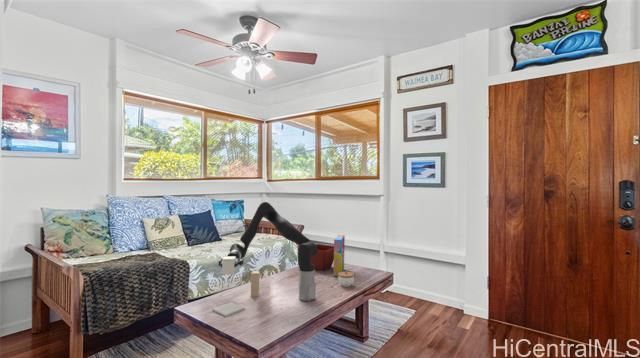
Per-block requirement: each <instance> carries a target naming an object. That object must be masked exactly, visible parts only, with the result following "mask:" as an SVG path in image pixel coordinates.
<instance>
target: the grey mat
mask: <svg viewBox="0 0 640 358" xmlns="http://www.w3.org/2000/svg"><path fill="white" fill-rule="evenodd" d="M244 310H245V307H244V306H242V305H239V304H237V303H235V302H233V301H230V302H228V303H224V304H221V305H219V306H215V307H214V308H212V309H211V311H212V312H215V313H217V314H218V315H221V316H223V317H225V318H226V317H227V318H228V317H229V316H232V315H234V314H236V313H239V312H242V311H244Z"/></svg>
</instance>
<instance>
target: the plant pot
mask: <svg viewBox="0 0 640 358" xmlns="http://www.w3.org/2000/svg"><path fill="white" fill-rule="evenodd" d="M315 245H316V246H317V248H318V253H317V255H316V256H314V257H311V258H310V263H312V264H314V266H315V270H316V269H317V271H322V272H324V271H327V270H329V269H331V268H332V266H333V265H334V245H326V244H322V243H321V244H319V243H317V244H316V243H315Z"/></svg>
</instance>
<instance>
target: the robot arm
mask: <svg viewBox="0 0 640 358" xmlns="http://www.w3.org/2000/svg"><path fill="white" fill-rule="evenodd" d="M262 219H265V220H267V221H269V223H271V224H272V225H273V226H274V228H275V229H276V231H277V232H278V233H279V234H280V235H281V236H282V237H283V238H284V239H286V240H288V241H289V242H293V243H295V244H297V245H298V249H297V265H298V267H299V269H298V272H299V275H298V300H300V301H303V302H311V301H313V300H315V299H316V297H317V296H316V293H317V292H316V290H317V289H316V286H317V284H316V282H315V274H316V273H315V271H316V269H315V266H314V264H312V263H310V258H311V257H314V256H316V255H317V253H318V248H317V246H316V243H315V242H313V241H312V240H311V239H309V238H308V237H306V236H305V235H304V234H303V233H302V232H301V231H300V230H299V229H297V227H296V226H294V225H293V224H292V223H291V222H290V221H289V220H287V219H286V218H285V217H282V216H281V215H280V214H279V212H278V211H277V210H276V209H275V208H274V206H272V205H271V203H269V202H268V201H263V202H261V203H260V204H259V206H258V207H257V209H256V211H255V213H254V215H253V217H252V219H251V221H250V224H249V225H248V227H247V228H246V229H245V231H244V232H243V234H242V235H241V237H240V241H241V242H242V244H243V245H244V246H242V245H240V244H238V243H237V242H236V243H233V244H231V246H230V248H229V253H228V254H227V256H236V262H235V264H234V267H236V268H237V267H238V266H243V264H245V257H246V255H247V253H248V252H247V251H248V250H249V246H250V245H251V243H252V241H253V240H254V239H255V237H256V234H257V233H258V229H259V226H260V223H261V221H262ZM222 259H223V258H218V266H219V267H221V269H222Z"/></svg>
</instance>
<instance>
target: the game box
mask: <svg viewBox="0 0 640 358" xmlns="http://www.w3.org/2000/svg"><path fill="white" fill-rule="evenodd" d="M345 239H346V235H344V234H343V235H341V234H338V235H337V236H336V237H335V238H334V240H333V246H334V261H333V275H332V276H333V277H338V273H340V272H344V271H345V243H346V242H345V241H346V240H345Z"/></svg>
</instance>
